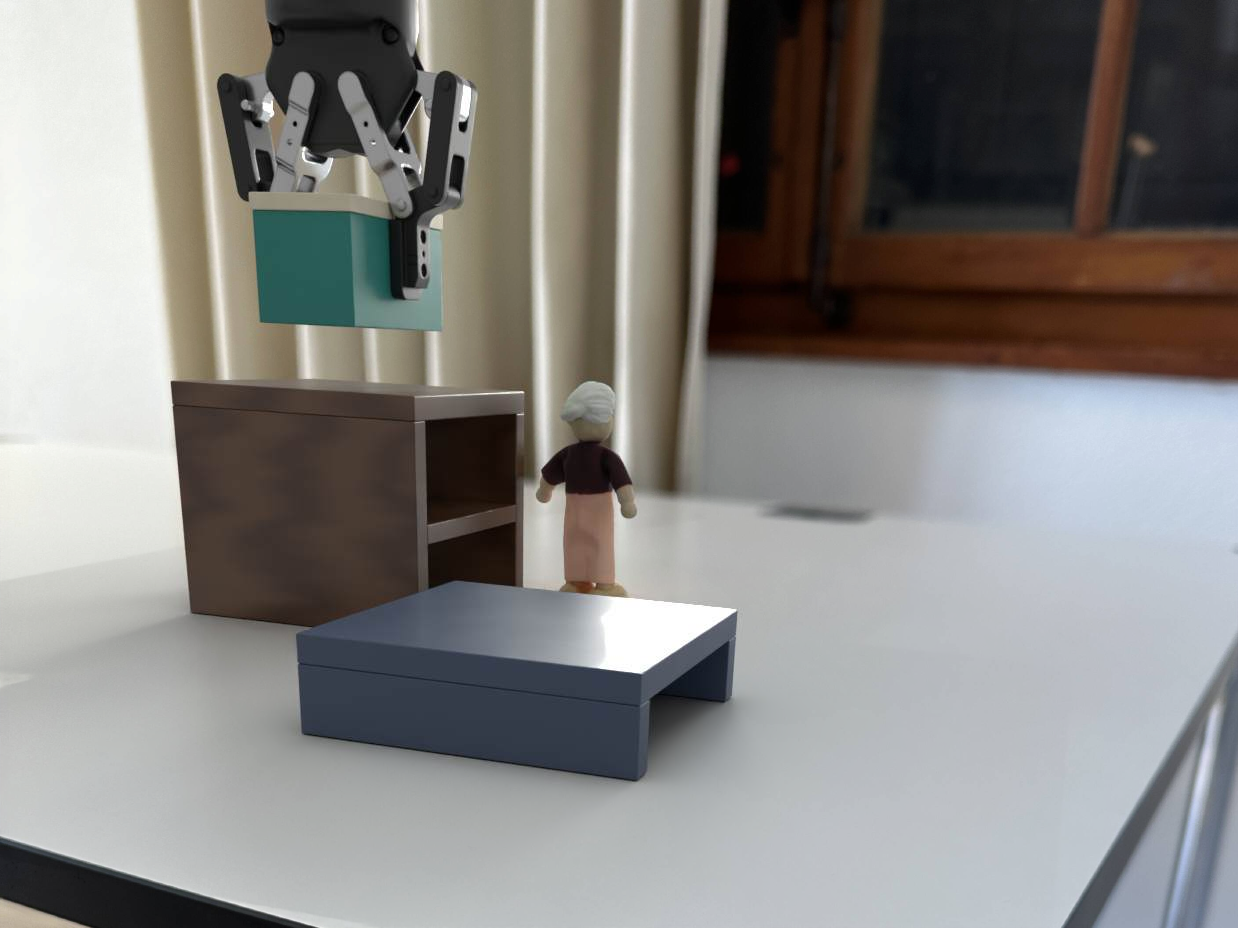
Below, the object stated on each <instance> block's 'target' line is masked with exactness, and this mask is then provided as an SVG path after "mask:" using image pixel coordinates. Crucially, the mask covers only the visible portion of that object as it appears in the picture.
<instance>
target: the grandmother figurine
mask: <svg viewBox="0 0 1238 928" xmlns="http://www.w3.org/2000/svg"><path fill="white" fill-rule="evenodd" d="M616 399H617V398H616V394H615V392H614V390H612V388H611V386H609V385H608V384H605V383H603V382H598V381H592V380H591V381H584V382H583V383H582V384H580V385H578V386H577V388H575V390H573V392H572V393H570V394H569V396H567V398H566V401H565V403H564V404H563V405H562V406H563V407H562V410H561V411H560V413H559V418H560V419H561V420H562V421H563V422H567V423H566V424H567V425H568V426H570V428H571V432H572V433H573V436H574V437H575V438H576V439H577V440H578V442H575V443H570V444H568V445H566V446H564V447H562V448H561V449H560V450H558V451H557V452H555V454H554V455H552V457H551V458H550V459H549V460H548V461H547V462H546V463H545V465H543V466H542V468H541V469H540V473H541V478H540V480H539V487H538V488H537V490H536V492H535V498H536V500H537V501H538V502H539V503H541V504H548V503H549V502H550V501H551V500H552V497H553V491H554V490H555V489H556V488H557V486H558V485H561V484H565V485H564V493H565V495H564V496H565V507H564V517H563V533H562V535H563V536H562V549H563V550H562V551H563V575H564V576H563V577H564V581H565V583H564V584H563V585H562V586H561V587H560V588H559V590H558V591H561V592H571V593H581V594H590V595H600V596H610V597H620V598H629V594H628V591H627V589H626V588H625V587H624V586H623V585H621V584H620V583H618V582H616V558H615V555H616V554H615V507H614V498H613V491H614V493H615V494H616V498H617V502H618V504H619V505H620V507H619V508H620V510H619V511H620V515H621V516H622V517H623V518H624V519H626V520H627V519H628V520H631V519H634V518H635V517H636V516H637V514H638V506H637V504H636V503H635V494H634V493H635V492H634V489H633V485H634V483H633V481H632V478H631V476H630V474H629V472H628V470H627V467H626V465H625V463H624V461H623V459H622V457H621V456H620V455H619V454H618V453H617V452H616V451H614V450H613V449H612V448H609V447H607V446H605V445H602V444H601V443H603V442H604V441H606V440H607V439H608V438H609V437H610V435H611V434H612V431H613V426H614V418H613V415H614V410H615V409H616V401H617V400H616Z"/></svg>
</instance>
